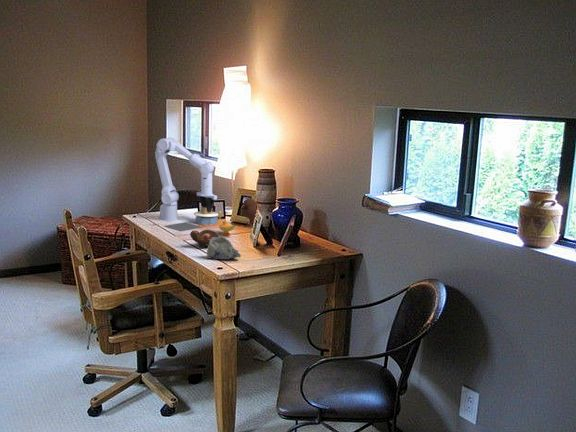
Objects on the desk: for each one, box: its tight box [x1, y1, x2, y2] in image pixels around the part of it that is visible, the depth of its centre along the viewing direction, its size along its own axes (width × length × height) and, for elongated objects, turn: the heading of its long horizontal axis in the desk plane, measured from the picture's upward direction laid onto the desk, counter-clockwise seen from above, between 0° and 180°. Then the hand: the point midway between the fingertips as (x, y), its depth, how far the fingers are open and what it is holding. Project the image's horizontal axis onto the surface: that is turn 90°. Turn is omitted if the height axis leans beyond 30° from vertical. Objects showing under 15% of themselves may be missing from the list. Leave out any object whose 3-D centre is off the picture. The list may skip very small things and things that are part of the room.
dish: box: [195, 215, 219, 226], centre depth 307 cm, size 11×11×4 cm
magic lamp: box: [218, 210, 239, 237], centre depth 282 cm, size 7×18×11 cm, turn 36°
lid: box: [193, 206, 220, 217], centre depth 305 cm, size 13×13×4 cm
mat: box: [163, 221, 204, 232], centre depth 296 cm, size 15×14×1 cm
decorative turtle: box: [189, 229, 220, 249], centre depth 260 cm, size 10×15×8 cm, turn 111°
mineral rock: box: [206, 235, 242, 260], centre depth 241 cm, size 13×11×10 cm
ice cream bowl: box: [240, 197, 257, 228], centre depth 302 cm, size 11×11×15 cm
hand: (206, 211), depth 306 cm, fingers closed on lid, 3 cm apart
